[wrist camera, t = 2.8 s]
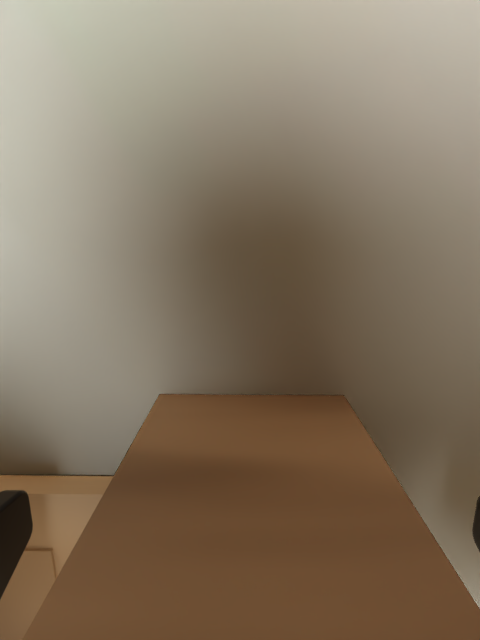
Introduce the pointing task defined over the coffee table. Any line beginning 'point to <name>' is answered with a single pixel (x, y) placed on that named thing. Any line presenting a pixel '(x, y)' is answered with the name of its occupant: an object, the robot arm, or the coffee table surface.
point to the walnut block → (255, 535)
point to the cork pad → (46, 541)
